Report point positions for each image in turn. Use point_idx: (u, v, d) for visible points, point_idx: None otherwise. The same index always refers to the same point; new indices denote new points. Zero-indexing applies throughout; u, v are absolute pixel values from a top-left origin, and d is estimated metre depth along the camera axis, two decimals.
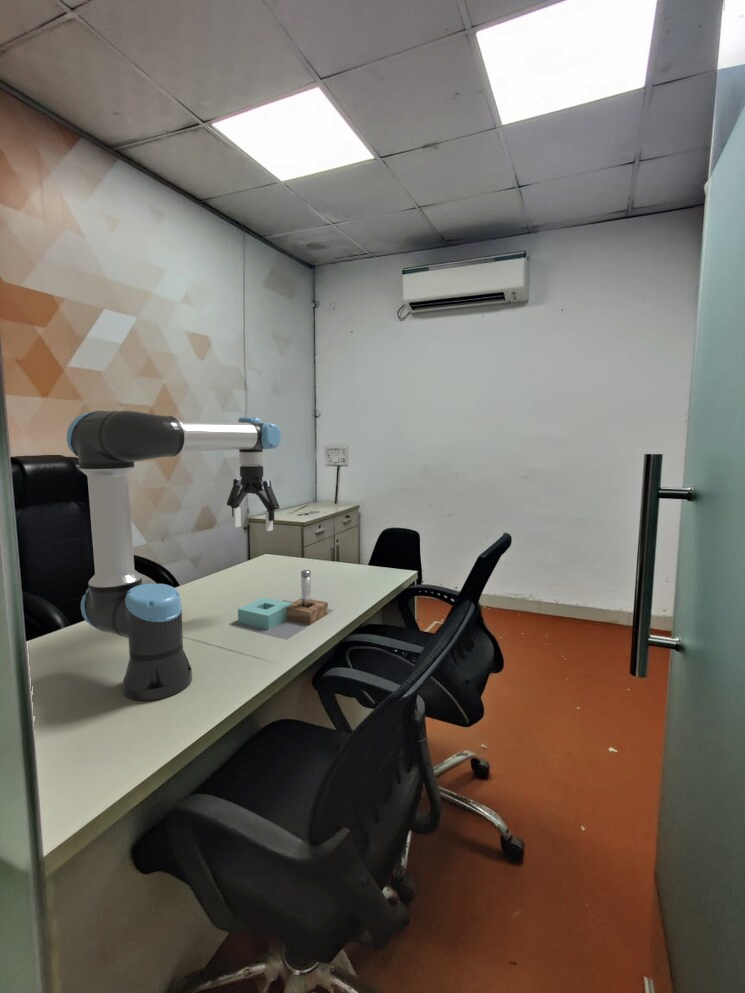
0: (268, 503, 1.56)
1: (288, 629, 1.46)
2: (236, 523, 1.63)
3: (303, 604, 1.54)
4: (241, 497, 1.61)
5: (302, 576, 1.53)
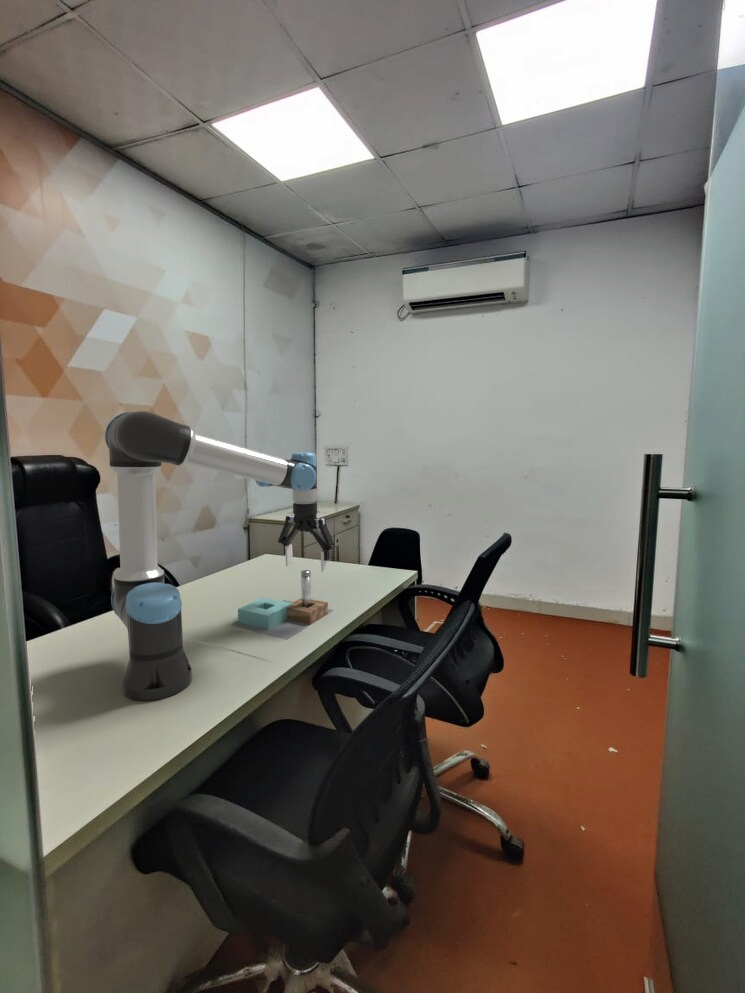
0: (323, 542, 1.49)
1: (288, 629, 1.46)
2: (288, 561, 1.56)
3: (303, 604, 1.54)
4: (293, 535, 1.54)
5: (302, 576, 1.53)
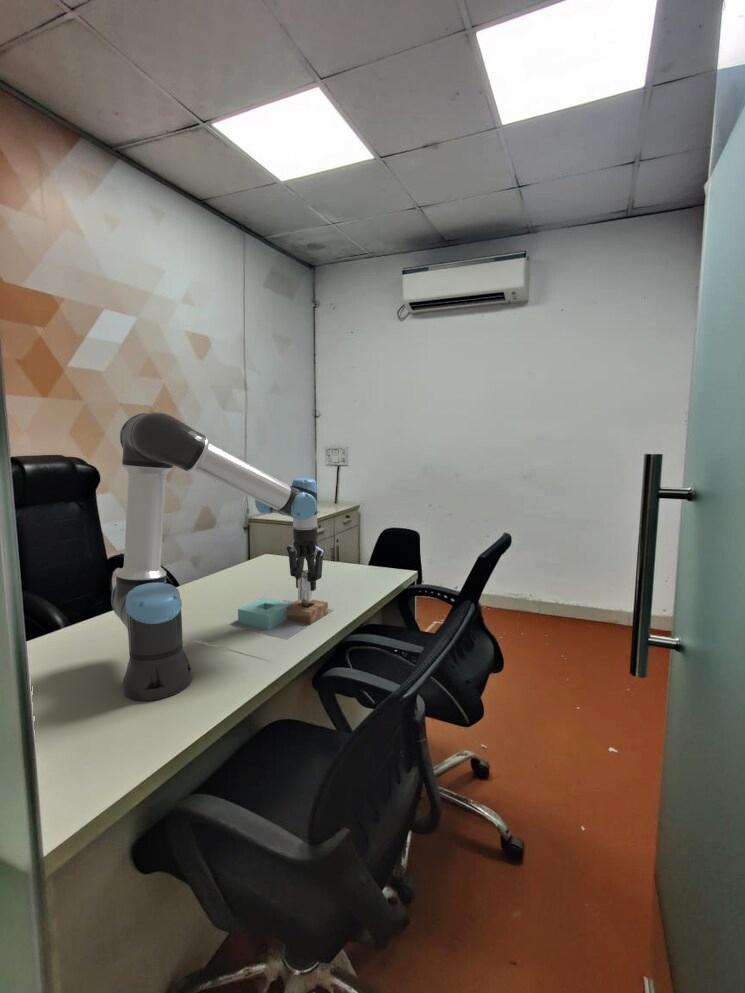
0: (313, 573, 1.52)
1: (288, 629, 1.46)
2: (300, 595, 1.55)
3: (303, 604, 1.54)
4: (301, 563, 1.54)
5: (302, 576, 1.53)
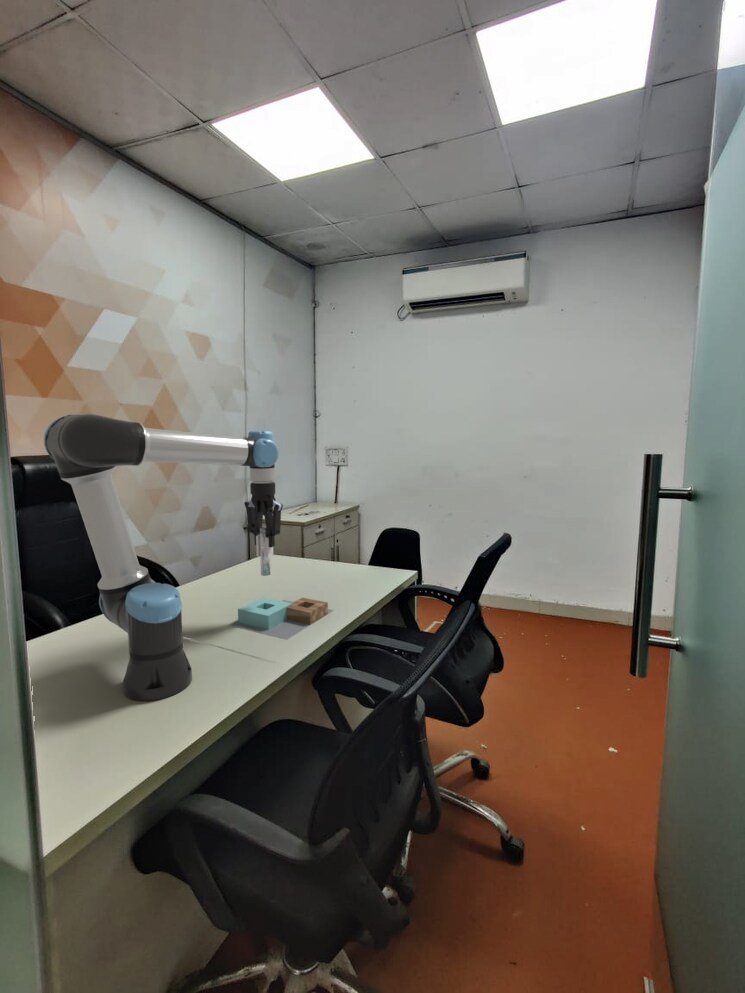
0: (271, 528, 1.48)
1: (288, 629, 1.46)
2: (259, 552, 1.51)
3: (262, 561, 1.50)
4: (259, 519, 1.50)
5: (260, 532, 1.49)
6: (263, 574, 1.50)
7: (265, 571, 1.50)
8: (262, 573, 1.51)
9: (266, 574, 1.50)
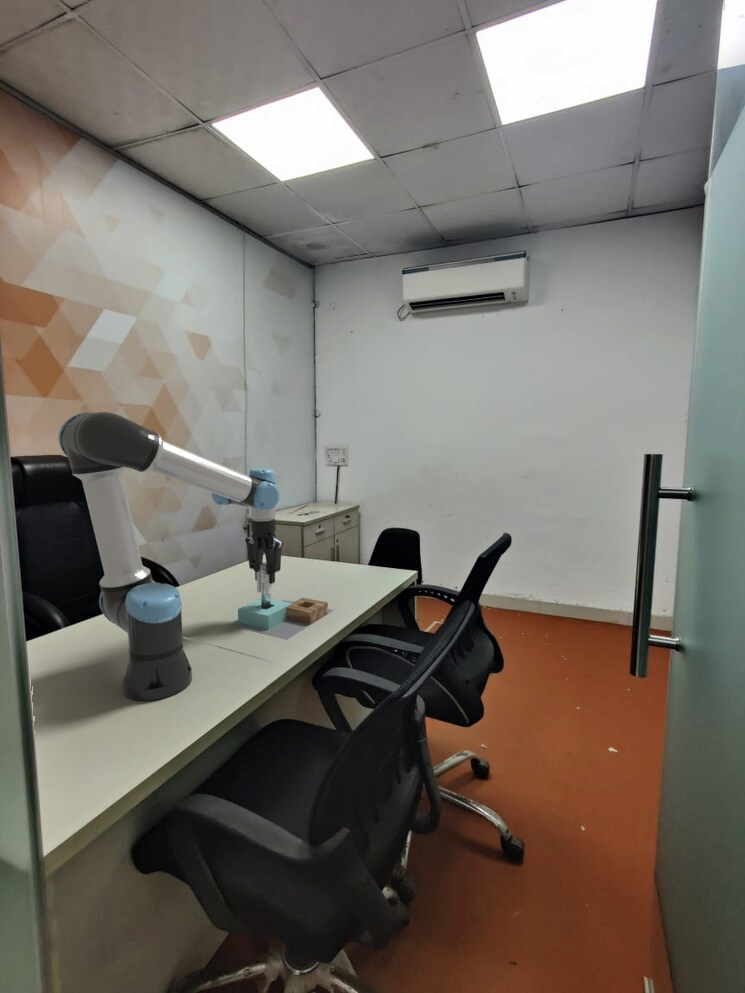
0: (271, 565, 1.49)
1: (288, 629, 1.46)
2: (259, 588, 1.52)
3: (262, 597, 1.51)
4: (259, 556, 1.51)
5: (261, 568, 1.50)
6: None
7: (265, 606, 1.52)
8: None
9: None
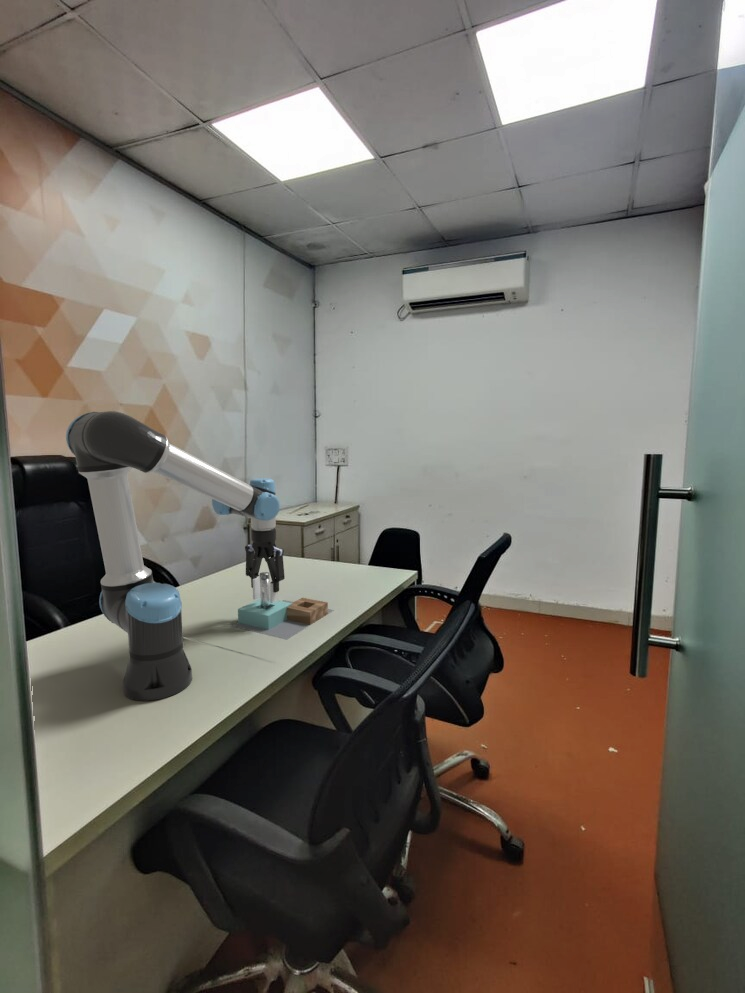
0: (275, 573, 1.49)
1: (288, 629, 1.46)
2: (255, 595, 1.53)
3: (262, 607, 1.52)
4: (257, 564, 1.52)
5: (260, 578, 1.51)
6: None
7: None
8: None
9: None
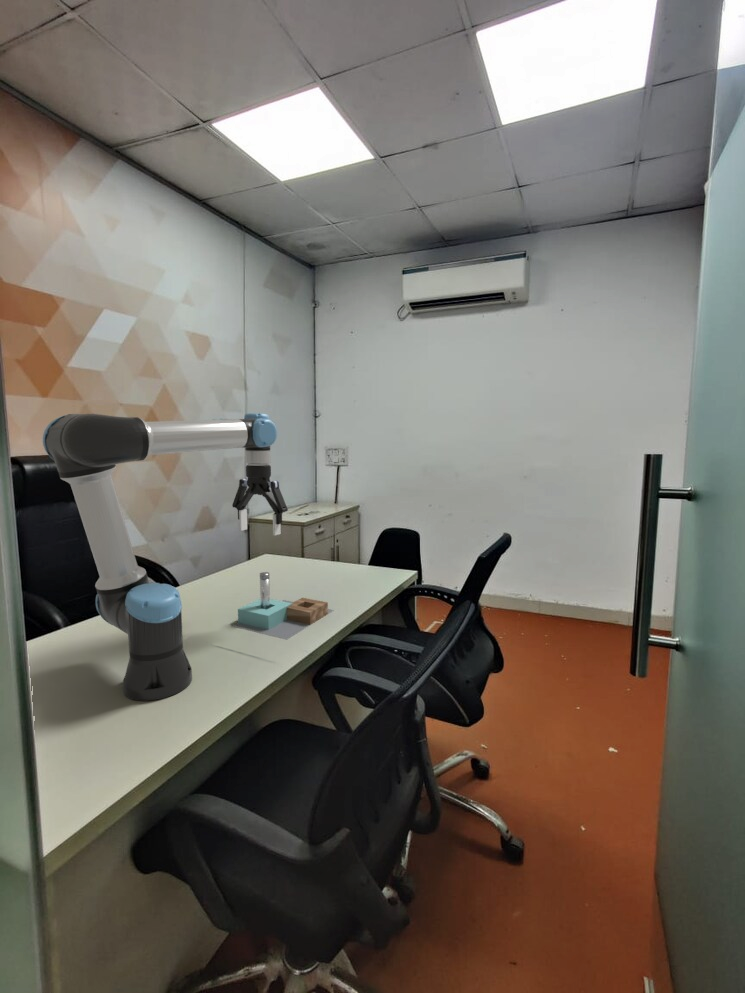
0: (275, 505, 1.46)
1: (288, 629, 1.46)
2: (242, 526, 1.53)
3: (262, 607, 1.52)
4: (247, 498, 1.51)
5: (260, 578, 1.51)
6: None
7: None
8: None
9: None
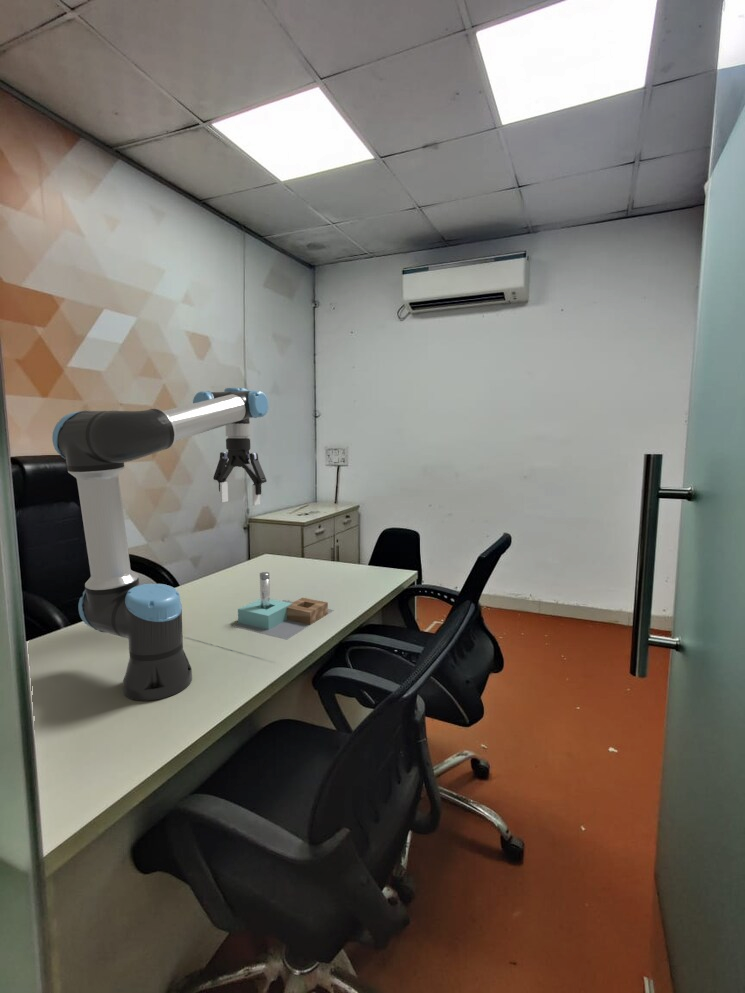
0: (255, 476, 1.52)
1: (288, 629, 1.46)
2: (223, 498, 1.59)
3: (262, 607, 1.52)
4: (228, 471, 1.57)
5: (260, 578, 1.51)
6: None
7: None
8: None
9: None
